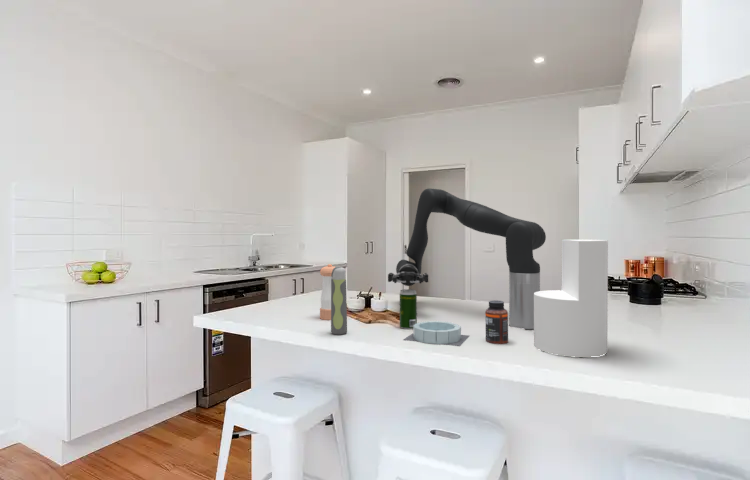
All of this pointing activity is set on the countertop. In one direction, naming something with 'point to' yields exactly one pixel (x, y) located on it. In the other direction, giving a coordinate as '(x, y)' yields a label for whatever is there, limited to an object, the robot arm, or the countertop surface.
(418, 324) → the bowl
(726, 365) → the countertop surface
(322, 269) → the salt shaker
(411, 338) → the mat
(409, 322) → the beer can
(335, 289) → the patterned grey bottle
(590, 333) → the white stepped cylinder
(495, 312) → the supplement bottle
